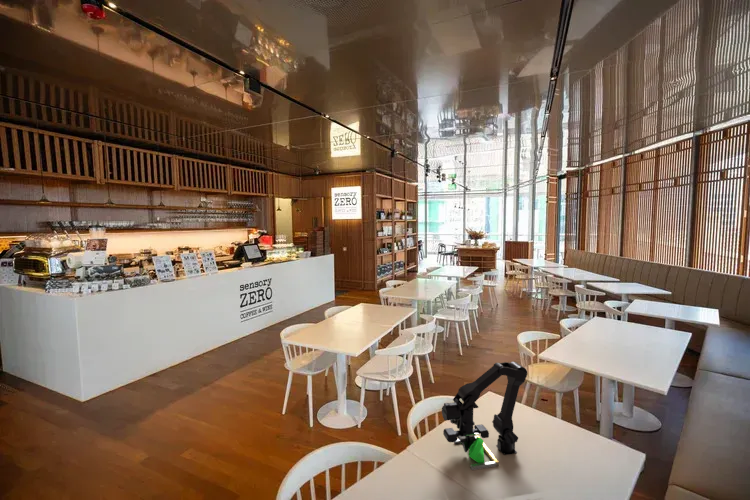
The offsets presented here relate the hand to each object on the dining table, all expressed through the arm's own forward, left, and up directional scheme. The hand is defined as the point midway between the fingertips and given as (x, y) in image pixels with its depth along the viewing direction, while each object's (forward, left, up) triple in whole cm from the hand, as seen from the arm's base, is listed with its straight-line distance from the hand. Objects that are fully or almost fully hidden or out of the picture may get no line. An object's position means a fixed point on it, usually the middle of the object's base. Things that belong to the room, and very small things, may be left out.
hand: (465, 451), depth 143 cm
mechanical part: (-4, 0, 0) cm, 4 cm away
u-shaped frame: (-5, 0, -2) cm, 5 cm away
